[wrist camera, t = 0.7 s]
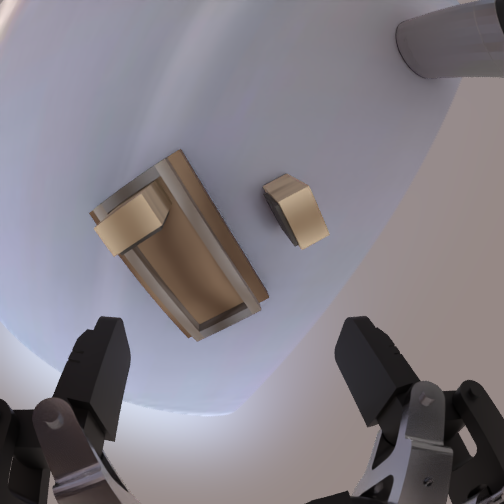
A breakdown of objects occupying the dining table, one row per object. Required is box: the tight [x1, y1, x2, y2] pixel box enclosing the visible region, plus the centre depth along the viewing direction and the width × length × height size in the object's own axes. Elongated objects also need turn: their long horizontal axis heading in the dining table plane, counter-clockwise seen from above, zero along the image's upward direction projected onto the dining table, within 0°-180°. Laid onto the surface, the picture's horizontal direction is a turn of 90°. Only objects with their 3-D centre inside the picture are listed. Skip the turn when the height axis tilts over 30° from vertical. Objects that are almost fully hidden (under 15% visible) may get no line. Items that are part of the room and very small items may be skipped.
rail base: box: [89, 149, 269, 342], centre depth 27 cm, size 12×20×8 cm, turn 28°
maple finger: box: [263, 174, 330, 250], centre depth 27 cm, size 5×3×7 cm, turn 28°
